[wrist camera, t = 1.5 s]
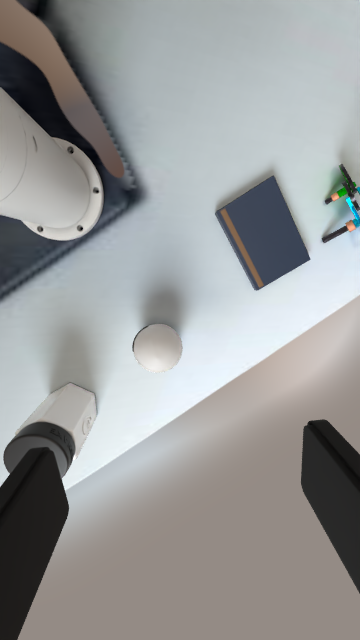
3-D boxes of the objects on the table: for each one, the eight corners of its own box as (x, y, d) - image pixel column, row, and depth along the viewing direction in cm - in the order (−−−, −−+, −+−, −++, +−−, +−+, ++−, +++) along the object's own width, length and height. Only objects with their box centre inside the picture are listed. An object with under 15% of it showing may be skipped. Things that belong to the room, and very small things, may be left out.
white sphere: (156, 308, 38) (152, 320, 31) (190, 338, 39) (194, 355, 32) (117, 352, 39) (105, 373, 32) (151, 379, 41) (146, 404, 34)
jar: (99, 426, 43) (72, 488, 31) (54, 427, 43) (9, 490, 31) (94, 381, 41) (63, 431, 29) (46, 382, 40) (-5, 433, 29)
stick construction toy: (392, 237, 34) (397, 237, 28) (338, 262, 38) (332, 267, 32) (352, 164, 34) (349, 149, 28) (303, 198, 39) (292, 190, 33)
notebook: (214, 213, 34) (216, 211, 33) (270, 177, 33) (273, 175, 32) (254, 289, 37) (257, 290, 36) (306, 259, 36) (310, 259, 35)
